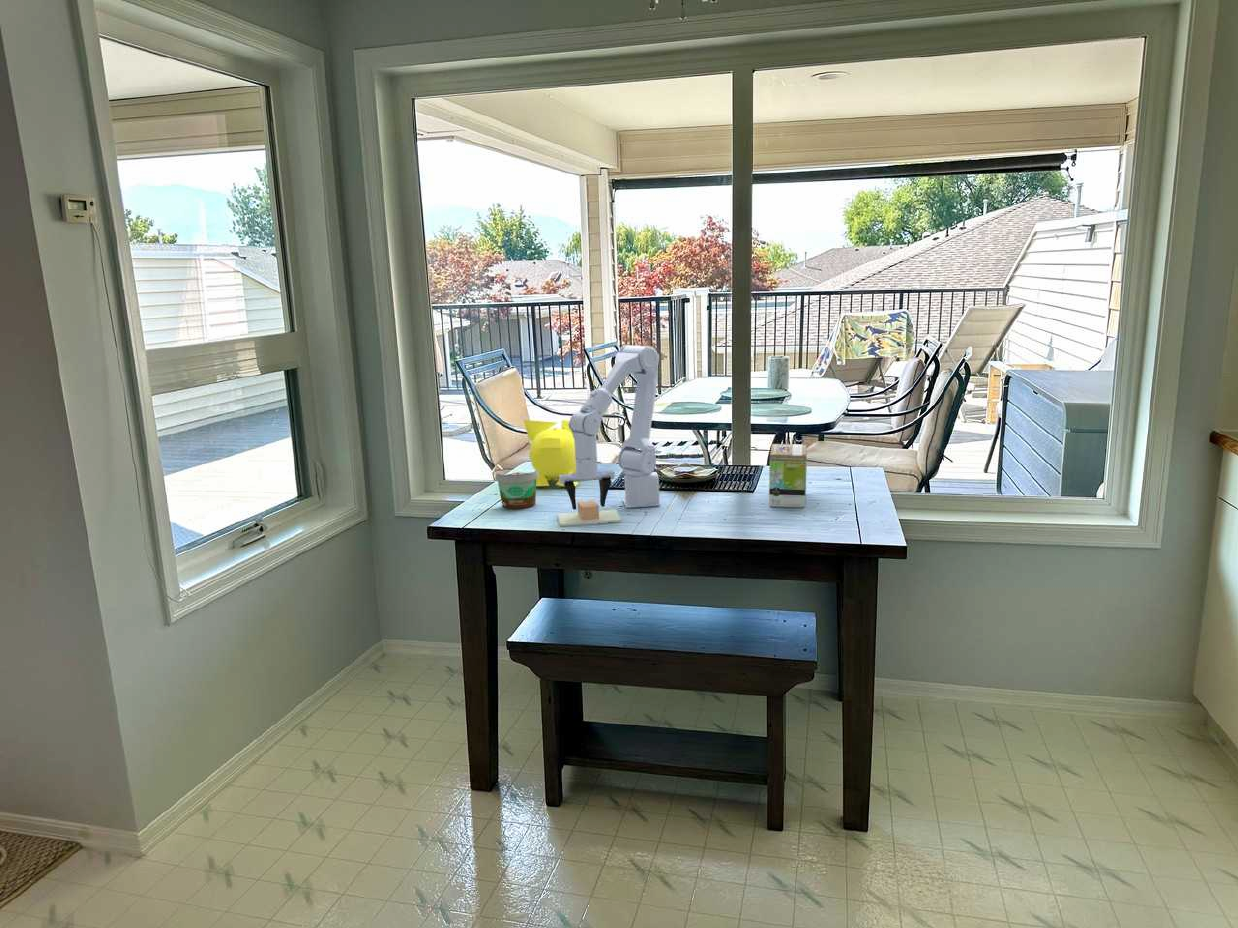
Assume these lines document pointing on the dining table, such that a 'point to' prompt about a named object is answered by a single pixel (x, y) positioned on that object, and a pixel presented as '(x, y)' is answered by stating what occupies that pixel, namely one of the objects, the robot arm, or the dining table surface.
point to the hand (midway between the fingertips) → (588, 507)
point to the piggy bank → (551, 450)
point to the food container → (517, 490)
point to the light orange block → (588, 510)
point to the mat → (575, 519)
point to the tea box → (787, 475)
